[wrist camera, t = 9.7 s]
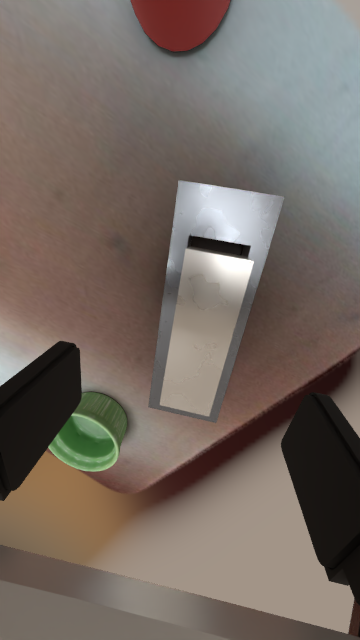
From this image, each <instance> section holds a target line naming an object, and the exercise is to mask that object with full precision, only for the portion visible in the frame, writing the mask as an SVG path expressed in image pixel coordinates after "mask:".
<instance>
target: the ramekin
mask: <svg viewBox="0 0 360 640" xmlns="http://www.w3.org/2000/svg"><path fill="white" fill-rule="evenodd" d="M126 428H127V418H126V414H125V412H124V410H123V409H122V407H121V406H120V405H119V404H118V403H117V402H116V401H114V400H113V399H112V398H110V397H108V396H106V395H103V394H100V393H95V392H86V393H82V398H81V402H80V404H79V405H78V407H77V408H76V410H75V411H74V412H73V414H72V415H71V416H70V418H69V419H68V421H67V422H66V423H65V425H64V426H63V427H62V429H61V430H60V432H59V433H58V434H57V436H56V437H55V438H54V440H53V441H52V443H51V444H50V445H49V449H50V450H51V451H52V453H53V454H54V455H55V456H56V457H57V458H59V459H60V460H61V461H63V462H64V463H66V464H68V465H70V466H72V467H74V468H77V469H80V470H84V471H102V470H105V469H108V468H109V467H111V466H112V465H113V464H114V463H115V462H116V461H117V459H118V456H119V452H120V446H121V443H122V440H123V437H124V434H125V431H126Z"/></svg>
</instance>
